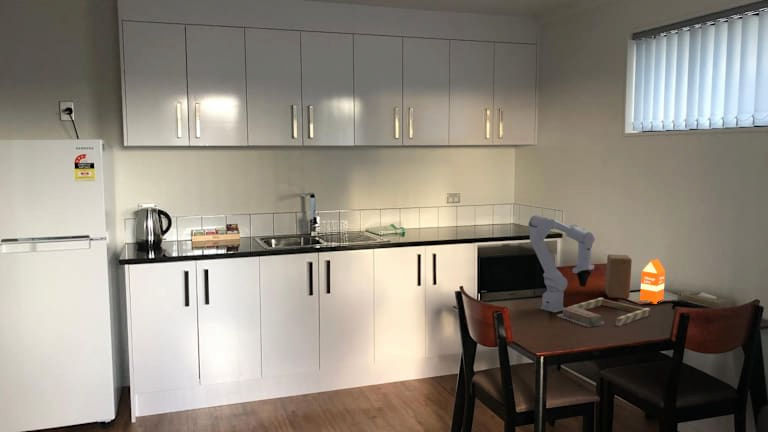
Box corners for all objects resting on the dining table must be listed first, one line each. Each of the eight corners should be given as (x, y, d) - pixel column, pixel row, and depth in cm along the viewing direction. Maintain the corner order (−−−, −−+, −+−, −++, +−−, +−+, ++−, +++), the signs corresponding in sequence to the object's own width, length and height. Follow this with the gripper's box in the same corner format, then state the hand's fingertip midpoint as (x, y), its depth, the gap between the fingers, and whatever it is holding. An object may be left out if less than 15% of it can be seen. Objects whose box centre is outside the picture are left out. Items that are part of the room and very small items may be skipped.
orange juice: (663, 300, 300) (666, 259, 298) (655, 303, 294) (658, 262, 292) (647, 297, 306) (649, 257, 303) (639, 300, 300) (642, 259, 297)
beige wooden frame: (619, 325, 259) (619, 318, 258) (569, 313, 277) (569, 306, 277) (649, 315, 275) (650, 308, 275) (600, 303, 293) (600, 297, 293)
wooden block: (629, 299, 302) (632, 258, 300) (608, 297, 304) (610, 257, 302) (626, 294, 312) (628, 254, 310) (605, 293, 314) (607, 253, 312)
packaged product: (605, 314, 260) (588, 317, 255) (605, 325, 261) (587, 328, 256) (573, 303, 276) (557, 306, 271) (573, 314, 277) (556, 317, 272)
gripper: (582, 260, 278) (581, 290, 280) (600, 256, 287) (599, 285, 289) (569, 258, 283) (567, 287, 285) (587, 254, 293) (585, 282, 294)
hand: (582, 286), depth 287 cm, fingers closed
